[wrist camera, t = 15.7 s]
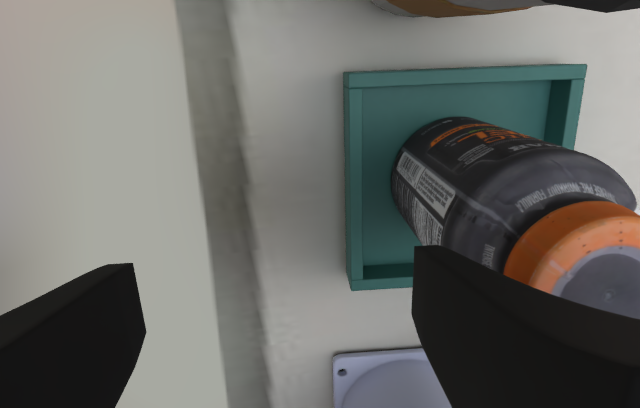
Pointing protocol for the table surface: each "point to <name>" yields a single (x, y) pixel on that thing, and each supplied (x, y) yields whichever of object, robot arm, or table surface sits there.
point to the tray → (416, 112)
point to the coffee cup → (492, 6)
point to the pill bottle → (523, 210)
